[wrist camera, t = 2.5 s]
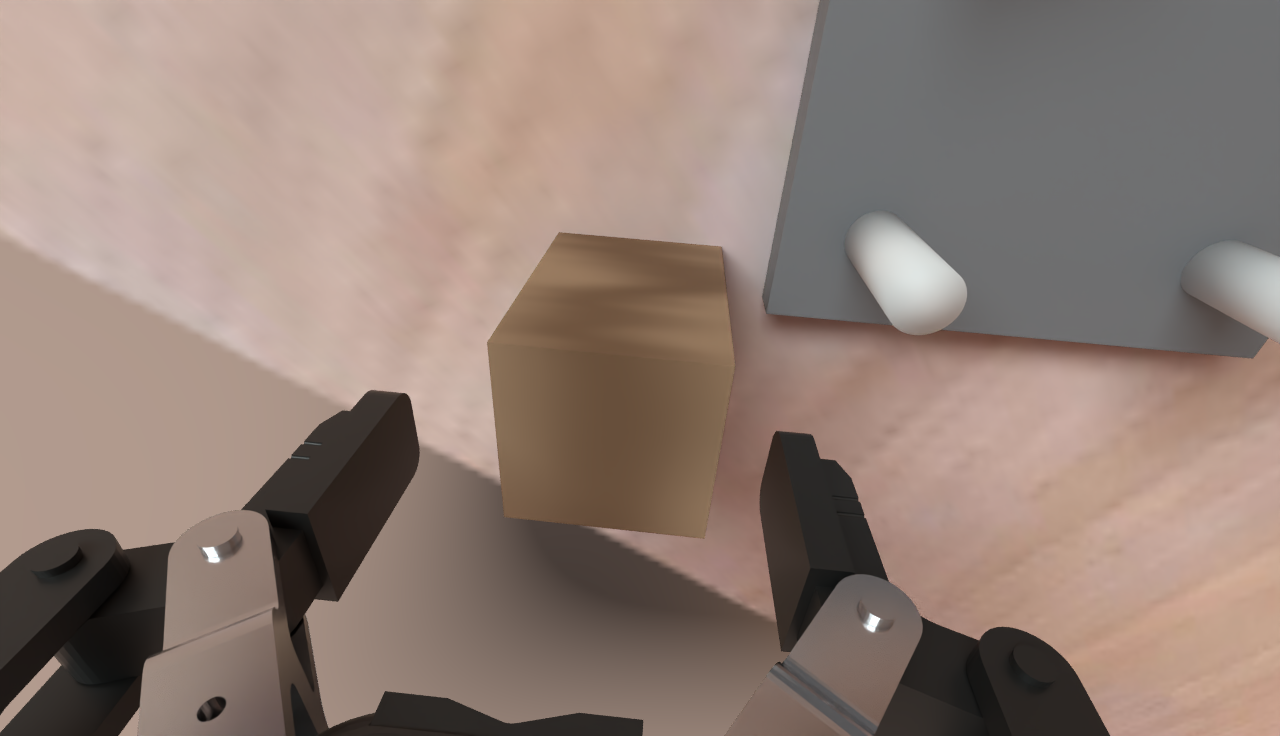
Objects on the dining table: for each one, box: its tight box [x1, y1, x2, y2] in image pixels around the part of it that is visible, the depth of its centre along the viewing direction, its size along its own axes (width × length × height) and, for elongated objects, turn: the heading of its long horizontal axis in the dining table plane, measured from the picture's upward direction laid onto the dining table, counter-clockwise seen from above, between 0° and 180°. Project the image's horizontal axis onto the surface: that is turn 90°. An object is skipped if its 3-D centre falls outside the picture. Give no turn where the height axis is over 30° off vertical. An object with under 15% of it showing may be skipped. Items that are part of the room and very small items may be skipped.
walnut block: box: [487, 232, 735, 539], centre depth 15 cm, size 5×5×7 cm
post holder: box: [762, 0, 1280, 358], centre depth 11 cm, size 14×14×5 cm
